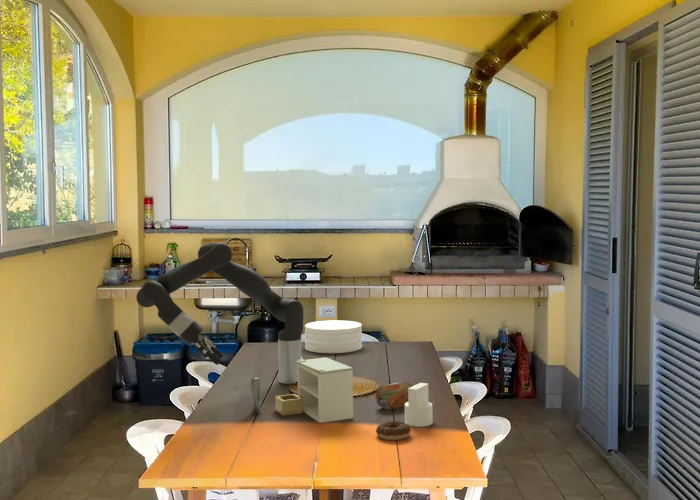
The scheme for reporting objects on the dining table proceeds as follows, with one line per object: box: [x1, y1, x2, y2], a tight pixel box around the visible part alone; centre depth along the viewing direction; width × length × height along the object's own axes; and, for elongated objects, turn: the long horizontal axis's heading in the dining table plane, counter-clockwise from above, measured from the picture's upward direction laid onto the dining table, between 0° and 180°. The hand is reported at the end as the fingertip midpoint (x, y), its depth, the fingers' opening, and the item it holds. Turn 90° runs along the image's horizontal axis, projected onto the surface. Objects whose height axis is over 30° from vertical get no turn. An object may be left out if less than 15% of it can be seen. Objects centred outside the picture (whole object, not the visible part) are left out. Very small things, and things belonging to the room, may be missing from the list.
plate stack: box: [304, 319, 363, 354], centre depth 373 cm, size 28×28×12 cm
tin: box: [375, 381, 413, 410], centre depth 264 cm, size 15×3×8 cm, turn 118°
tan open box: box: [274, 393, 303, 416], centre depth 260 cm, size 8×7×5 cm
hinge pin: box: [250, 376, 262, 415], centre depth 259 cm, size 3×3×12 cm
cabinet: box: [296, 356, 354, 424], centre depth 257 cm, size 13×20×17 cm, turn 25°
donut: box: [375, 420, 411, 441], centre depth 232 cm, size 11×11×4 cm
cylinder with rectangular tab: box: [404, 382, 434, 428], centre depth 245 cm, size 9×9×12 cm
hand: (220, 360), depth 257 cm, fingers open, 8 cm apart
